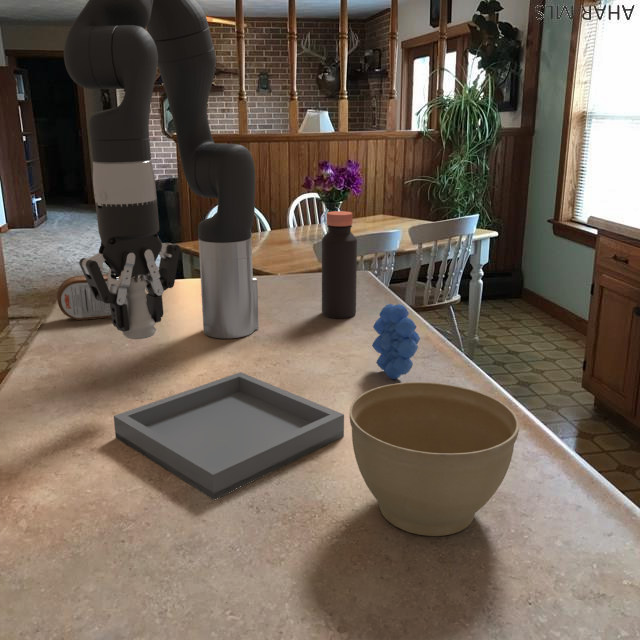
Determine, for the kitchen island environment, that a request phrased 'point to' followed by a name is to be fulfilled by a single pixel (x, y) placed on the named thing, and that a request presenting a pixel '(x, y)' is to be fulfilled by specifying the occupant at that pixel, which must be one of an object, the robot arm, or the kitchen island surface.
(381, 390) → the planter bowl
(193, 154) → the robot arm
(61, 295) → the tin
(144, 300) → the rook chess piece
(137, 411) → the tray
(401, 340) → the grapes
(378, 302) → the kitchen island surface
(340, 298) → the bottle
